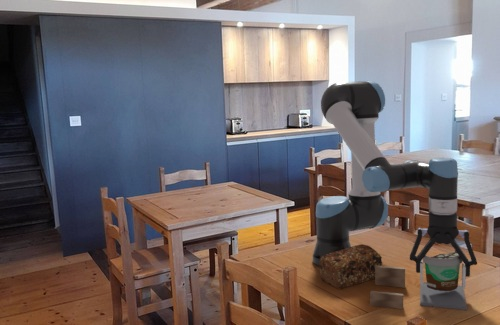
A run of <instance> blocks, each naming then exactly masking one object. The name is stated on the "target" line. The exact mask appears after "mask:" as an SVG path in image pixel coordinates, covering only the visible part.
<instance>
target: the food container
mask: <svg viewBox="0 0 500 325" xmlns="http://www.w3.org/2000/svg"><path fill="white" fill-rule="evenodd" d="M422 261H423V264H424V268H425V269H424V270H425V278H426V279H425V280H426V283H427V287H428V288H430V289H434V290H439V291H452V290H455V289H457V287H458V286H459V277H460V268H461V265H462V264H463V261H462V259H461V258H460V256H459V255H458V253H457V252H456V250H455V249H454V252H450V253H439V254H436V255H434V256H427V255H425V256H424V258H423V259H422Z"/></svg>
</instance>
